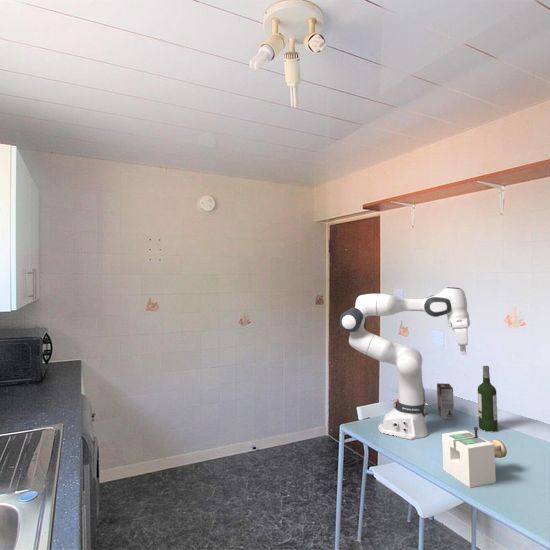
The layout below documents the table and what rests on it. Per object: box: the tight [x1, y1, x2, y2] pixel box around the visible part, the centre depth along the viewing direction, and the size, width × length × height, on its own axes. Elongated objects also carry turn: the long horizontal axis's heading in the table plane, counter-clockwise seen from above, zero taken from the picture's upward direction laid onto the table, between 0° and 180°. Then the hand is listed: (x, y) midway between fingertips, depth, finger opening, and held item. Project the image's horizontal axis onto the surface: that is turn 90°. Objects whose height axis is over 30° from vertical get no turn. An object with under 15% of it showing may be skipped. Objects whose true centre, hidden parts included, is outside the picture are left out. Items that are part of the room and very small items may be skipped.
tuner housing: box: [441, 430, 497, 489], centre depth 134 cm, size 11×13×14 cm
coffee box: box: [436, 382, 455, 420], centre depth 194 cm, size 9×6×16 cm
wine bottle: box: [477, 365, 499, 432], centre depth 176 cm, size 8×8×30 cm
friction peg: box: [473, 426, 508, 459], centre depth 136 cm, size 12×6×12 cm, turn 105°
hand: (463, 352), depth 166 cm, fingers open, 8 cm apart
